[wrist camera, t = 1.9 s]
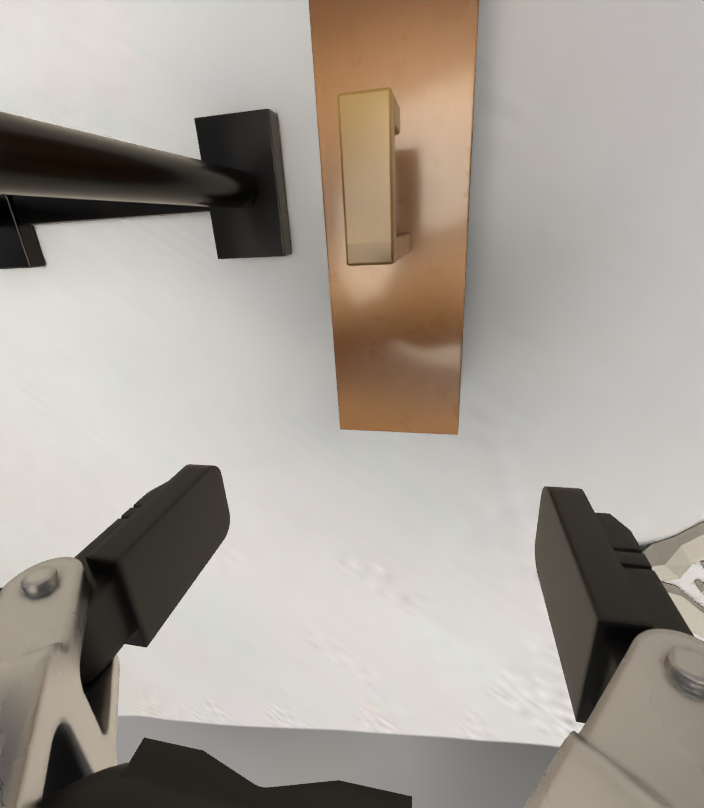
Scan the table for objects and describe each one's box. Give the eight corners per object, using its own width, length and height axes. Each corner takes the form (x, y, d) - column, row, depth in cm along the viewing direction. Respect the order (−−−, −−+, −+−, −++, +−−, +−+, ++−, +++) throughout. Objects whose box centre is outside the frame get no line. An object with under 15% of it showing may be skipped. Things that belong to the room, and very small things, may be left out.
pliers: (843, 679, 22) (539, 640, 26) (820, 652, 24) (535, 618, 27) (926, 529, 18) (557, 507, 22) (892, 507, 20) (550, 489, 23)
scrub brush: (342, -51, 16) (190, -433, 7) (477, -78, 15) (521, -582, 6) (363, 385, 23) (302, 498, 14) (456, 387, 22) (460, 512, 13)
